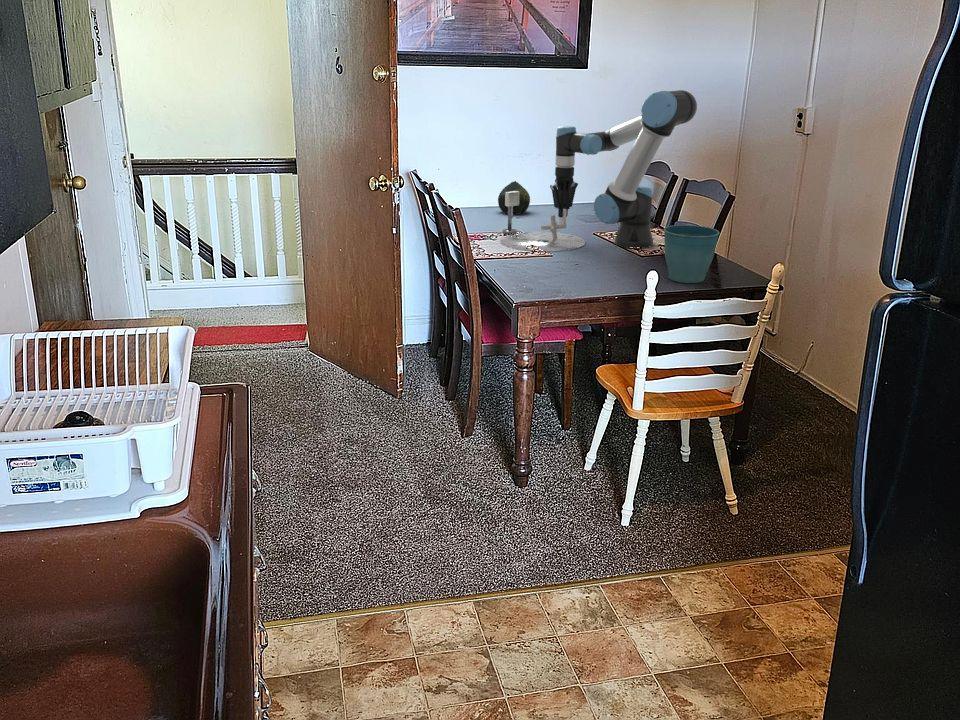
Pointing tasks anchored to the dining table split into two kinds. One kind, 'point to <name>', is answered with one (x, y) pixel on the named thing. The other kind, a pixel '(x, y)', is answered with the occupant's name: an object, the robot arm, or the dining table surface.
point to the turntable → (543, 241)
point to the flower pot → (689, 251)
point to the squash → (523, 198)
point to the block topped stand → (511, 208)
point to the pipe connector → (553, 226)
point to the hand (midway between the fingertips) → (562, 224)
